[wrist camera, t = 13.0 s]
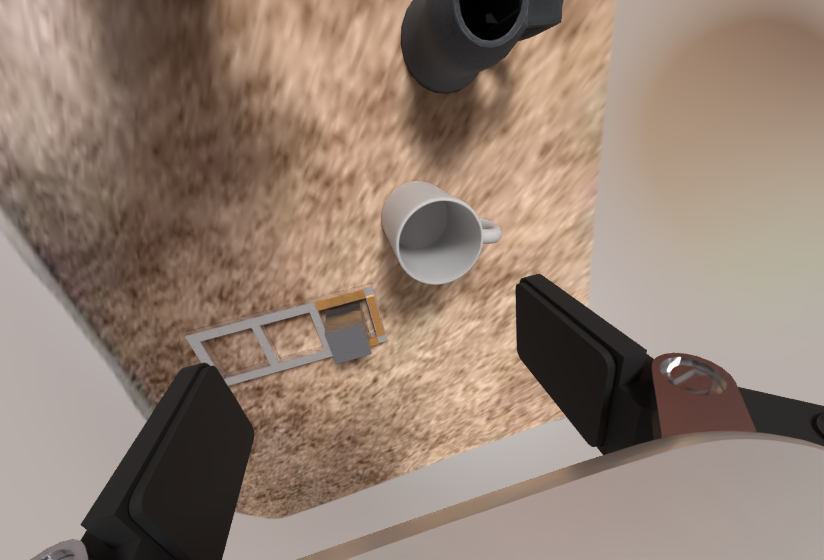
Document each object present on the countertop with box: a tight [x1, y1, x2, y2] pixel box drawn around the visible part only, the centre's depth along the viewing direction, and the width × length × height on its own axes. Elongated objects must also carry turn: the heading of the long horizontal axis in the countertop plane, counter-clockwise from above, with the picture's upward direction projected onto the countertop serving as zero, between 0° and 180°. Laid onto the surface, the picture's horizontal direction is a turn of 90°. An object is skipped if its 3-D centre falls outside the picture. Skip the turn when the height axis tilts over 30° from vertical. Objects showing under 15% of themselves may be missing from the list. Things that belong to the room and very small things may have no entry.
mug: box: [381, 181, 502, 285], centre depth 34 cm, size 12×8×11 cm
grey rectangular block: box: [325, 300, 372, 364], centre depth 40 cm, size 4×4×6 cm
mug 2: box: [401, 0, 563, 94], centre depth 27 cm, size 12×9×11 cm
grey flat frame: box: [185, 283, 388, 386], centre depth 41 cm, size 9×23×1 cm, turn 101°
